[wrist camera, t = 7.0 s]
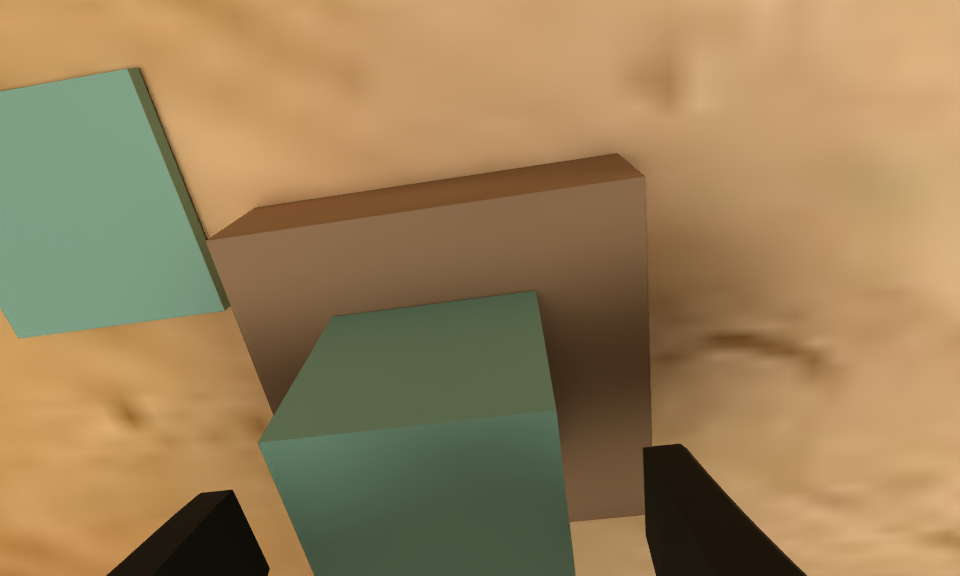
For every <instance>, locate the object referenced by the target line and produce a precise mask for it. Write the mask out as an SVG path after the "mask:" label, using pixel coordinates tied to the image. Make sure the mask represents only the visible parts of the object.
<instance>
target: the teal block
mask: <svg viewBox="0 0 960 576" xmlns="http://www.w3.org/2000/svg"><path fill="white" fill-rule="evenodd" d="M258 445H259V447H260V449H261V452H262V454H263V456H264V459H265V461H266V463H267V466H268V468H269V470H270V473H271V475H272V477H273V480H274V482H275V484H276V487H277V489H278V491H279V494H280V496H281V498H282V501H283V503H284V505H285V508H286V510H287V512H288V515H289V517H290V519H291V522H292V524H293V527H294V529H295V531H296V534H297V536H298V538H299V541H300V543H301V545H302V548H303V550H304V552H305V555H306V557H307V559H308V562H309V564H310V566H311V569H312V571H313V573H314V576H576V575H575V567H574V558H573V550H572V541H571V532H570V524H569V515H568V507H567V498H566V489H565V481H564V472H563V463H562V455H561V446H560V438H559V429H558V420H557V412H556V405H555V400H554V394H553V388H552V382H551V376H550V370H549V365H548V359H547V353H546V347H545V341H544V335H543V329H542V324H541V318H540V312H539V306H538V300H537V294H536V291H529V292H521V293H514V294H506V295H498V296H490V297H483V298H475V299H467V300H459V301H452V302H444V303H436V304H428V305H421V306H413V307H405V308H397V309H390V310H382V311H374V312H366V313H359V314H351V315H343V316H335V317H331V319H330V321H329V323H328V324H327V326H326V328H325V329H324V331H323V333H322V334H321V336H320V338H319V340H318V341H317V343H316V345H315V346H314V348H313V350H312V352H311V353H310V355H309V357H308V358H307V360H306V362H305V363H304V365H303V367H302V369H301V370H300V372H299V374H298V375H297V377H296V379H295V380H294V382H293V384H292V386H291V387H290V389H289V391H288V392H287V394H286V396H285V397H284V399H283V401H282V403H281V404H280V406H279V408H278V409H277V411H276V413H275V414H274V416H273V418H272V420H271V421H270V423H269V425H268V426H267V428H266V430H265V431H264V433H263V435H262V437H261V438H260V440H259V442H258Z"/></svg>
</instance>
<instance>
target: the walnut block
mask: <svg viewBox="0 0 960 576" xmlns="http://www.w3.org/2000/svg"><path fill="white" fill-rule="evenodd" d="M206 244H207V246H208V249H209V251H210V254H211V257H212V259H213V262H214V264H215V267H216V269H217V272H218V274H219V277H220V280H221V282H222V285H223V287H224V290H225V292H226V295H227V297H228V300H229V302H230V305H231V308H232V310H233V313H234V315H235V318H236V320H237V323H238V325H239V328H240V331H241V333H242V336H243V338H244V341H245V343H246V346H247V348H248V351H249V354H250V356H251V359H252V361H253V364H254V366H255V369H256V371H257V374H258V377H259V379H260V382H261V384H262V387H263V389H264V392H265V394H266V397H267V399H268V402H269V405H270V407H271V410H272V412H273V415H274V414H275V413H276V411H277V409H278V408H279V406H280V404H281V403H282V401H283V399H284V397H285V396H286V394H287V392H288V391H289V389H290V387H291V386H292V384H293V382H294V380H295V379H296V377H297V375H298V374H299V372H300V370H301V369H302V367H303V365H304V363H305V362H306V360H307V358H308V357H309V355H310V353H311V352H312V350H313V348H314V346H315V345H316V343H317V341H318V340H319V338H320V336H321V334H322V333H323V331H324V329H325V328H326V326H327V324H328V323H329V321H330V319H331V317H335V316H343V315H351V314H359V313H366V312H374V311H382V310H390V309H397V308H405V307H413V306H421V305H428V304H436V303H444V302H452V301H459V300H467V299H475V298H483V297H490V296H498V295H506V294H514V293H521V292H529V291H536V294H537V300H538V306H539V312H540V318H541V324H542V329H543V335H544V341H545V347H546V353H547V359H548V365H549V370H550V376H551V382H552V388H553V394H554V400H555V405H556V412H557V420H558V429H559V438H560V446H561V455H562V463H563V472H564V481H565V489H566V498H567V507H568V515H569V522H574V521H585V520H595V519H606V518H617V517H627V516H638V515H645V497H644V469H643V447H652V428H651V390H650V352H649V313H648V275H647V237H646V199H645V176H644V175H642V174H641V173H640V172H639V171H638V170H636V169H635V168H634V167H633V166H632V165H631V164H629V163H628V162H627V161H626V160H625V159H623V158H622V157H621V156H620V155H619V154H610V155H603V156H597V157H590V158H583V159H577V160H570V161H563V162H557V163H550V164H543V165H537V166H530V167H523V168H517V169H510V170H504V171H497V172H490V173H484V174H477V175H470V176H464V177H457V178H450V179H444V180H437V181H430V182H424V183H417V184H410V185H404V186H397V187H390V188H384V189H377V190H370V191H364V192H357V193H350V194H344V195H337V196H331V197H324V198H317V199H311V200H304V201H297V202H291V203H284V204H277V205H271V206H264V207H257V208H254V209H253V210H251V211H250V212H248V213H247V214H245V215H244V216H242V217H241V218H239V219H238V220H236V221H235V222H233V223H232V224H230V225H229V226H227V227H226V228H224V229H223V230H221V231H220V232H218V233H217V234H215V235H214V236H212V237H211V238H209V239H208V240H206Z"/></svg>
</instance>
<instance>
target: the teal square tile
mask: <svg viewBox="0 0 960 576" xmlns="http://www.w3.org/2000/svg"><path fill="white" fill-rule="evenodd" d="M229 306H230V302H229V300H228V297H227V295H226V292H225V290H224V287H223V285H222V282H221V280H220V277H219V274H218V272H217V269H216V267H215V264H214V262H213V259H212V257H211V254H210V251H209V249H208V246H207V244H206V238H205V236H204V233H203V230H202V228H201V225H200V223H199V220H198V218H197V215H196V213H195V210H194V208H193V205H192V203H191V200H190V198H189V195H188V193H187V190H186V187H185V185H184V182H183V180H182V177H181V175H180V172H179V170H178V167H177V165H176V162H175V160H174V157H173V155H172V152H171V149H170V147H169V144H168V142H167V139H166V137H165V134H164V132H163V129H162V127H161V124H160V122H159V119H158V117H157V114H156V111H155V109H154V106H153V104H152V101H151V99H150V96H149V94H148V91H147V89H146V86H145V84H144V81H143V79H142V76H141V74H140V71H139V68H132V69H123V70H118V71H112V72H107V73H101V74H95V75H90V76H84V77H79V78H73V79H68V80H62V81H57V82H51V83H45V84H40V85H34V86H29V87H23V88H18V89H12V90H7V91H1V92H0V308H1V310H2V312H3V313H4V315H5V317H6V318H7V320H8V322H9V323H10V325H11V327H12V328H13V330H14V332H15V333H16V335H17V336H18V338H27V337H34V336H41V335H49V334H56V333H64V332H71V331H79V330H86V329H93V328H101V327H108V326H116V325H123V324H131V323H138V322H146V321H153V320H160V319H168V318H175V317H183V316H190V315H198V314H205V313H212V312H220V311H225V310H226V309H227V308H228V307H229Z"/></svg>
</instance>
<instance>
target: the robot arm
mask: <svg viewBox="0 0 960 576" xmlns="http://www.w3.org/2000/svg"><path fill="white" fill-rule="evenodd" d="M643 469H644V497H645V525H646V537H647V541H648V545H649V549H650V553H651V557H652V561H653V565H654V569H655V573H656V576H807V575H806V574H805V573H804V572H803V571H802V570H801V569H800V568H799V567H798V566H797V565H796V564H795V563H793V562H792V561H791V560H790V559H789V558H788V557H787V556H786V555H785V554H784V553H783V552H782V551H781V550H780V549H779V548H778V547H777V546H776V545H775V544H774V543H773V542H772V541H771V540H770V539H769V538H768V537H767V536H766V535H765V534H764V533H763V532H762V531H761V530H760V529H759V528H758V527H757V526H756V525H755V523H754V522H753V521H752V520H751V519H750V518H749V517H748V516H747V515H746V514H745V513H744V512H743V511H742V510H741V509H740V508H739V507H738V506H737V505H736V503H735V502H734V501H733V500H732V499H731V498H730V497H729V496H728V495H727V494H726V493H725V492H724V491H723V489H722V488H721V487H720V486H719V485H718V484H717V483H716V482H715V481H714V479H713V478H712V477H711V476H710V475H709V474H708V473H707V472H706V470H705V469H704V468H703V467H702V466H701V465H700V463H699V462H698V461H697V460H696V459H695V458H694V457H693V455H692V454H691V453H690V452H689V451H688V449H687V448H685V447H684V446H683V445H681V444H672V445H663V446H653V447H643ZM269 569H270V568H269V566H268V564H267V562H266V559H265V557H264V555H263V553H262V551H261V549H260V547H259V545H258V542H257V540H256V538H255V536H254V534H253V532H252V530H251V528H250V525H249V523H248V521H247V519H246V517H245V515H244V513H243V511H242V509H241V506H240V504H239V502H238V500H237V498H236V496H235V494H234V492H233V490H225V491H215V492H206V493H200V494H199V495H198V496H196V497H195V498H194V499H193V500H191V501H190V502H189V503H188V504H187V505H185V506H184V507H183V508H182V509H181V510H180V511H178V512H177V513H176V514H175V515H174V516H173V517H171V518H170V519H169V520H168V521H167V522H166V523H165V524H164V525H162V526H161V527H160V528H159V529H158V530H157V531H156V532H155V533H153V534H152V535H151V536H150V537H149V538H148V539H147V540H146V541H145V542H143V543H142V544H141V545H140V546H139V547H138V548H137V549H136V550H135V551H133V552H132V553H131V554H130V555H129V556H128V557H127V558H126V559H125V560H123V561H122V562H121V563H120V564H119V565H118V566H117V567H116V568H114V569H113V570H112V571H111V572H110V573H109V574H108V575H107V576H268V572H269Z"/></svg>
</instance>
